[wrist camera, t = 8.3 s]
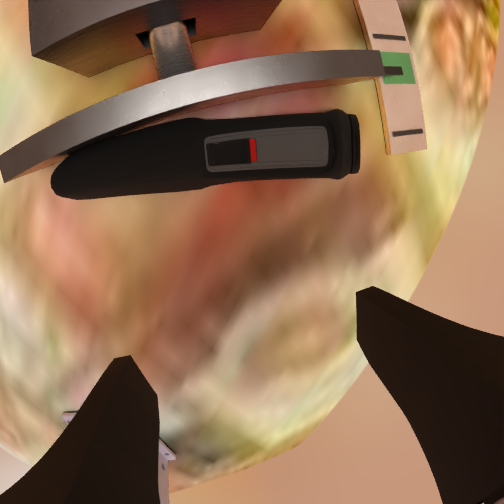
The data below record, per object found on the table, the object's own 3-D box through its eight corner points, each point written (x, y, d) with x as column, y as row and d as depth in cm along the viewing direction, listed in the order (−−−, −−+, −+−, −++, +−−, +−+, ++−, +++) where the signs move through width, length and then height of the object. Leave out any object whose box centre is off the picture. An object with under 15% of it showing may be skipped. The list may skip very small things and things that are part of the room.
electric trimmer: (69, 139, 13) (42, 144, 10) (350, 110, 15) (381, 110, 12) (80, 205, 14) (56, 223, 12) (351, 174, 16) (380, 186, 13)
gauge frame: (422, 148, 16) (493, 165, 10) (128, 218, 15) (94, 270, 9) (368, -54, 9) (419, -89, 4) (75, -19, 8) (32, -64, 3)
